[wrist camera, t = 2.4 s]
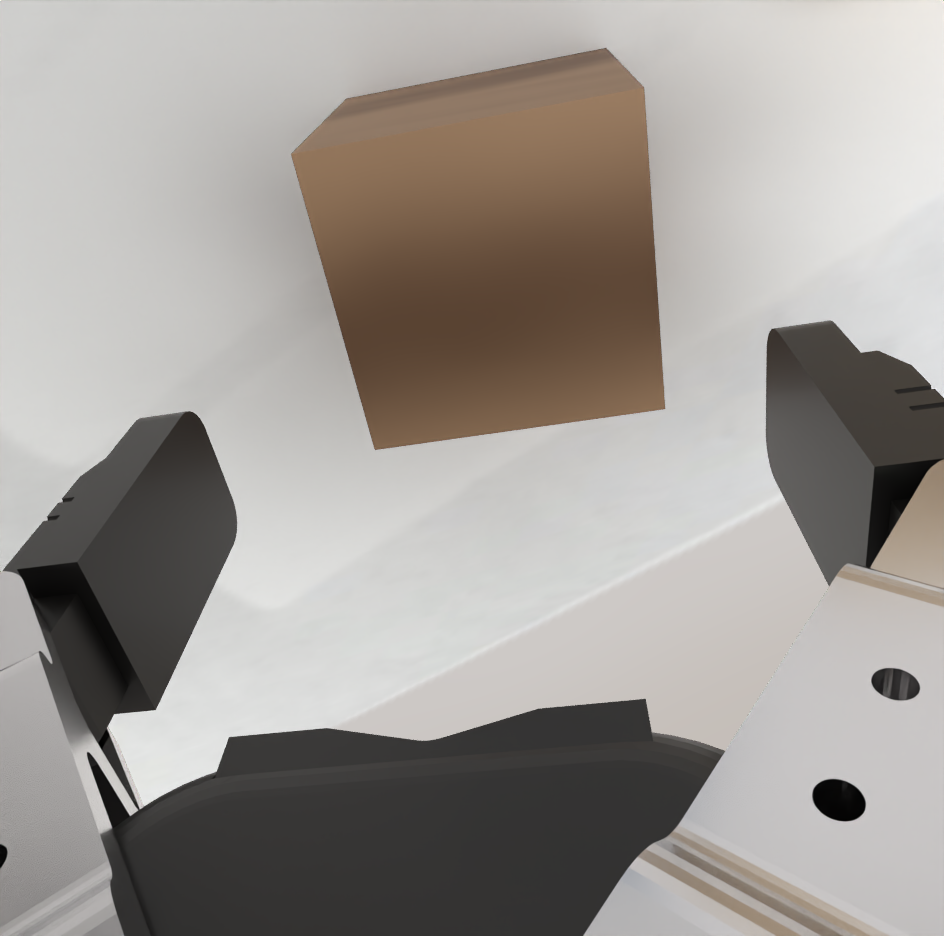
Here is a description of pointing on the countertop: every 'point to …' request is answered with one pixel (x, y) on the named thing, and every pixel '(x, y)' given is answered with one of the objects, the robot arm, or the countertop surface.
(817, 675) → the robot arm
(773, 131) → the countertop surface
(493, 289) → the walnut block
